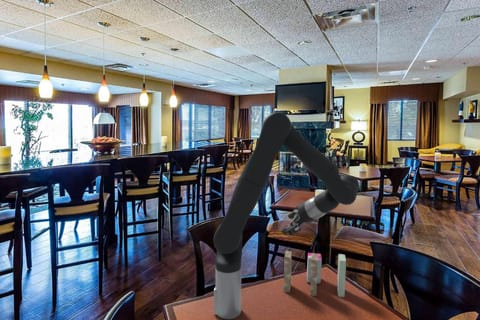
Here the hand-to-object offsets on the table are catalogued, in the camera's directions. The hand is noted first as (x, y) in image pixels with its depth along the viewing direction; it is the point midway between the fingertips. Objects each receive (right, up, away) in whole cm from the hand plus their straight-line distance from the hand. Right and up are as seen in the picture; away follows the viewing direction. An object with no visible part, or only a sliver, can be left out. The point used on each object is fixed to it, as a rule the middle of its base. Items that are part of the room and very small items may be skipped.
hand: (286, 224), depth 124 cm
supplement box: (+13, -27, +9) cm, 31 cm away
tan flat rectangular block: (+1, -27, +3) cm, 27 cm away
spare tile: (+22, -28, 0) cm, 35 cm away
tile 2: (+11, -27, 0) cm, 30 cm away
